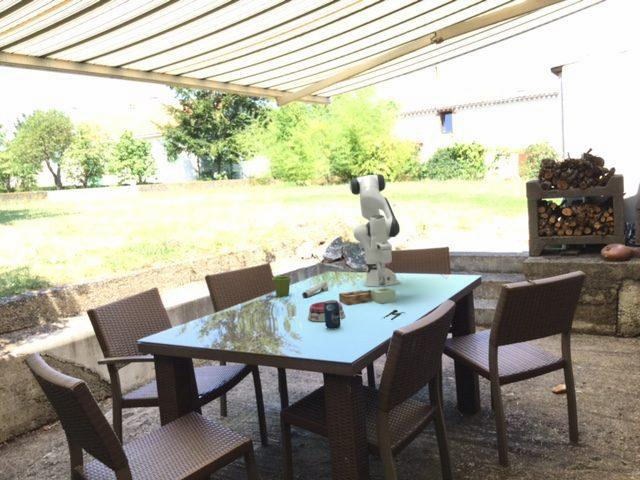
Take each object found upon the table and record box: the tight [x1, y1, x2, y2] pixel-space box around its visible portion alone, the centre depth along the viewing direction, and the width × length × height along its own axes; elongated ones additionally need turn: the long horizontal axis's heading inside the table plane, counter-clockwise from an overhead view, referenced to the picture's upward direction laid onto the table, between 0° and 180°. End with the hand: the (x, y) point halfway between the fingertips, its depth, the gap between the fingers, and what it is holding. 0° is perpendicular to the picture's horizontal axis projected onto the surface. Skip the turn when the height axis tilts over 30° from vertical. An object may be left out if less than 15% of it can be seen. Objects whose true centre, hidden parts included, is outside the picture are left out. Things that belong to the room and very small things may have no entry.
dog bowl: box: [307, 301, 346, 323], centre depth 260 cm, size 18×19×7 cm
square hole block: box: [370, 287, 397, 305], centre depth 288 cm, size 10×10×6 cm
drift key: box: [357, 288, 375, 294], centre depth 295 cm, size 12×2×5 cm, turn 109°
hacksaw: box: [382, 309, 406, 321], centre depth 250 cm, size 24×10×2 cm, turn 148°
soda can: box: [324, 299, 341, 330], centre depth 240 cm, size 7×7×12 cm
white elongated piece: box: [301, 280, 330, 299], centre depth 324 cm, size 5×7×25 cm
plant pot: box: [271, 275, 292, 298], centre depth 326 cm, size 12×12×11 cm
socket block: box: [338, 289, 372, 306], centre depth 293 cm, size 14×12×4 cm
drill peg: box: [377, 260, 385, 287], centre depth 287 cm, size 4×4×14 cm
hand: (381, 270), depth 287 cm, fingers closed on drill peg, 4 cm apart
